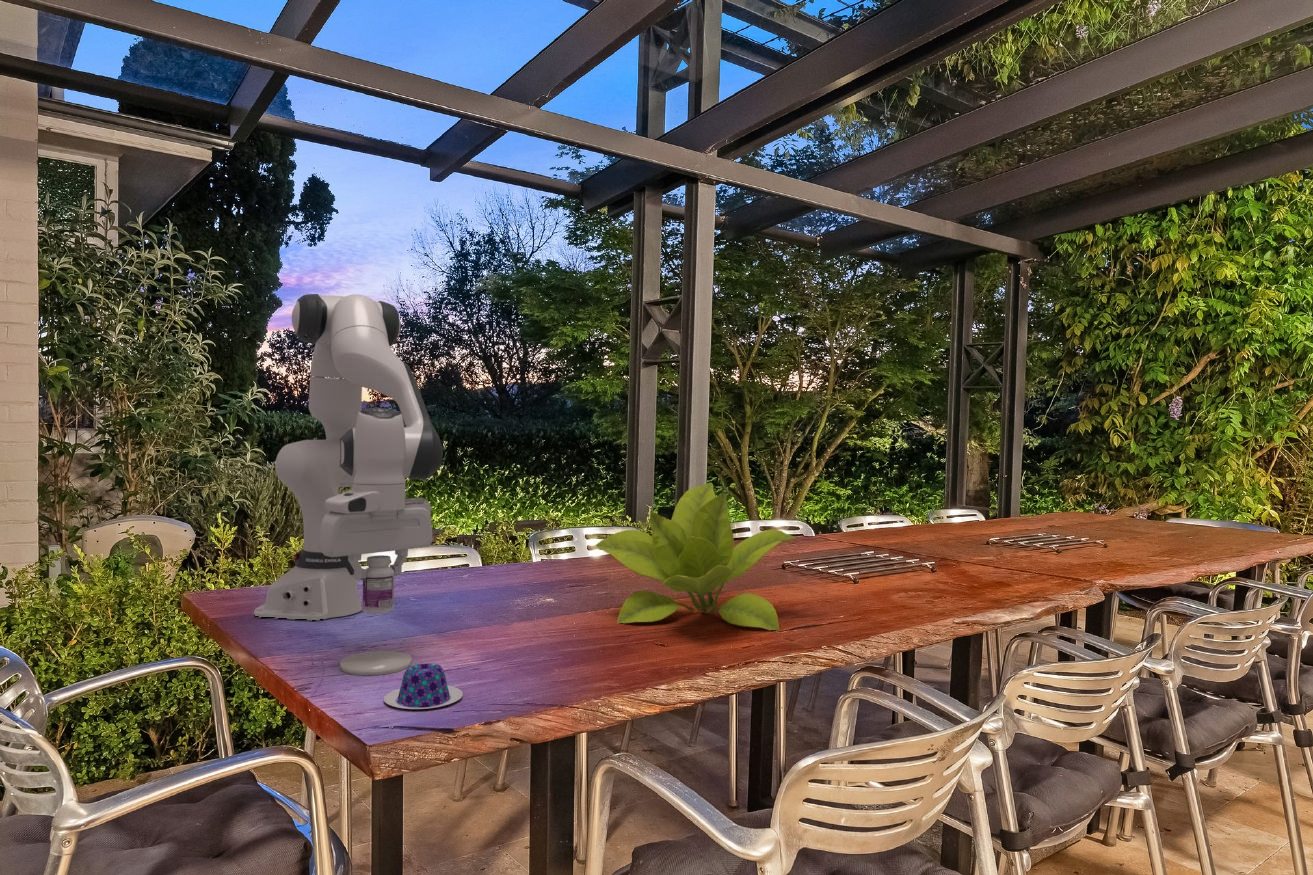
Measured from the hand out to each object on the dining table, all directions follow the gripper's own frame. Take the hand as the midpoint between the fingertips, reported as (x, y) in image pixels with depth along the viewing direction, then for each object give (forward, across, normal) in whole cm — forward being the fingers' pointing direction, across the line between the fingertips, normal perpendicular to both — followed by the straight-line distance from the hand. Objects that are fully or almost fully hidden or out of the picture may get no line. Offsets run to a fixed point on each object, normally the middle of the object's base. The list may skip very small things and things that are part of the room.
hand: (378, 577), depth 149 cm
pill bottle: (+6, 0, 0) cm, 6 cm away
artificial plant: (+16, -70, +15) cm, 73 cm away
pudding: (+16, +4, +21) cm, 27 cm away
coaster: (+16, 0, 0) cm, 16 cm away
